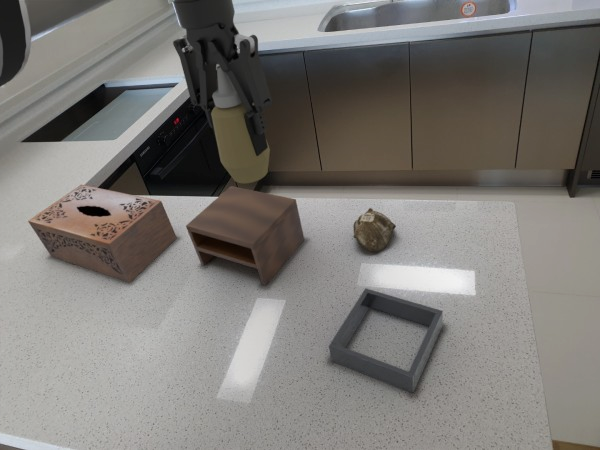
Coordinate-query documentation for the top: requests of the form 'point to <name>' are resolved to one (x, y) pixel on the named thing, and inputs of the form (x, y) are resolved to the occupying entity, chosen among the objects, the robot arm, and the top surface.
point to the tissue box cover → (105, 231)
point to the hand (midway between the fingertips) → (243, 148)
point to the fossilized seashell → (373, 230)
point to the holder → (374, 366)
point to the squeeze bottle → (235, 135)
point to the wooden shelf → (248, 230)
